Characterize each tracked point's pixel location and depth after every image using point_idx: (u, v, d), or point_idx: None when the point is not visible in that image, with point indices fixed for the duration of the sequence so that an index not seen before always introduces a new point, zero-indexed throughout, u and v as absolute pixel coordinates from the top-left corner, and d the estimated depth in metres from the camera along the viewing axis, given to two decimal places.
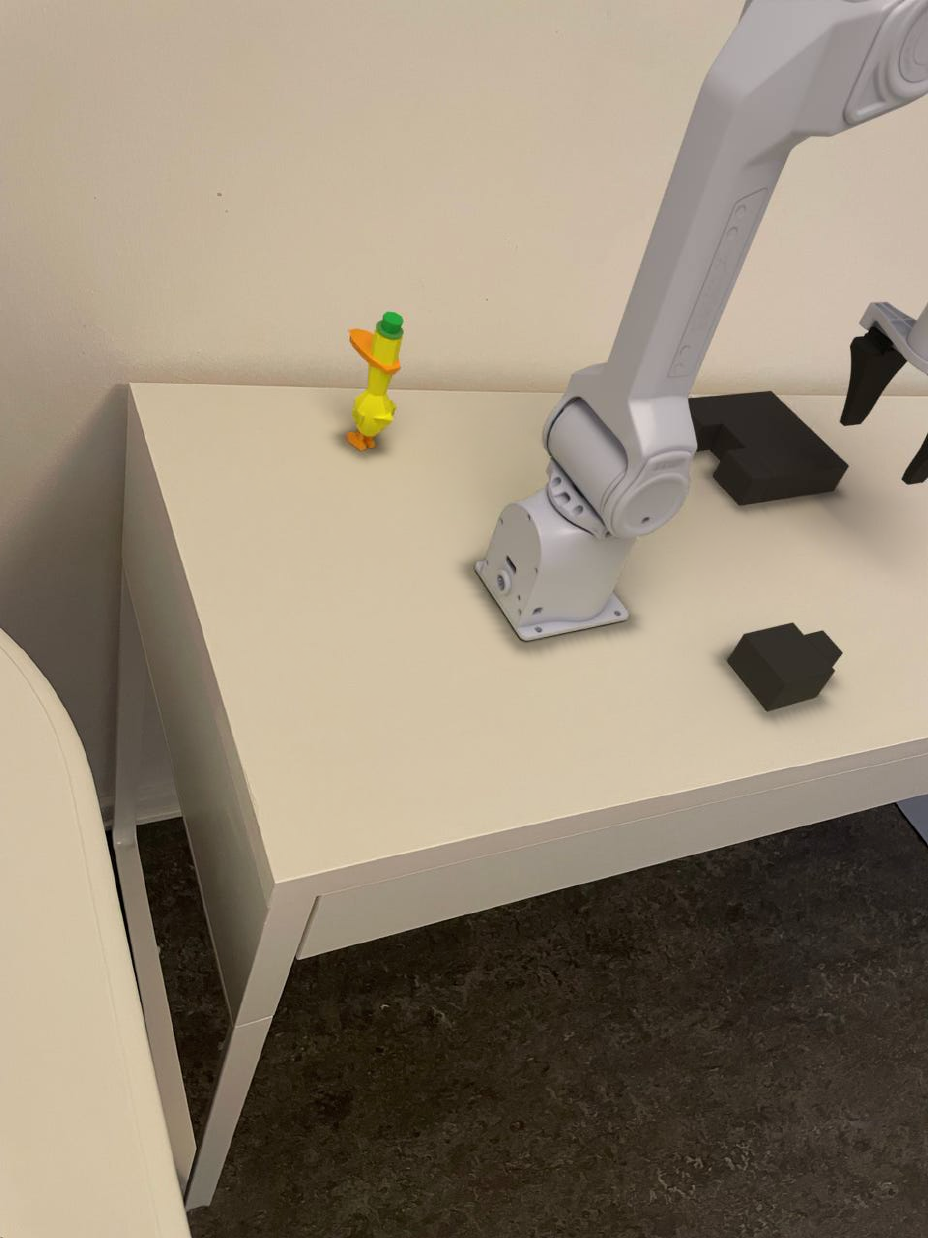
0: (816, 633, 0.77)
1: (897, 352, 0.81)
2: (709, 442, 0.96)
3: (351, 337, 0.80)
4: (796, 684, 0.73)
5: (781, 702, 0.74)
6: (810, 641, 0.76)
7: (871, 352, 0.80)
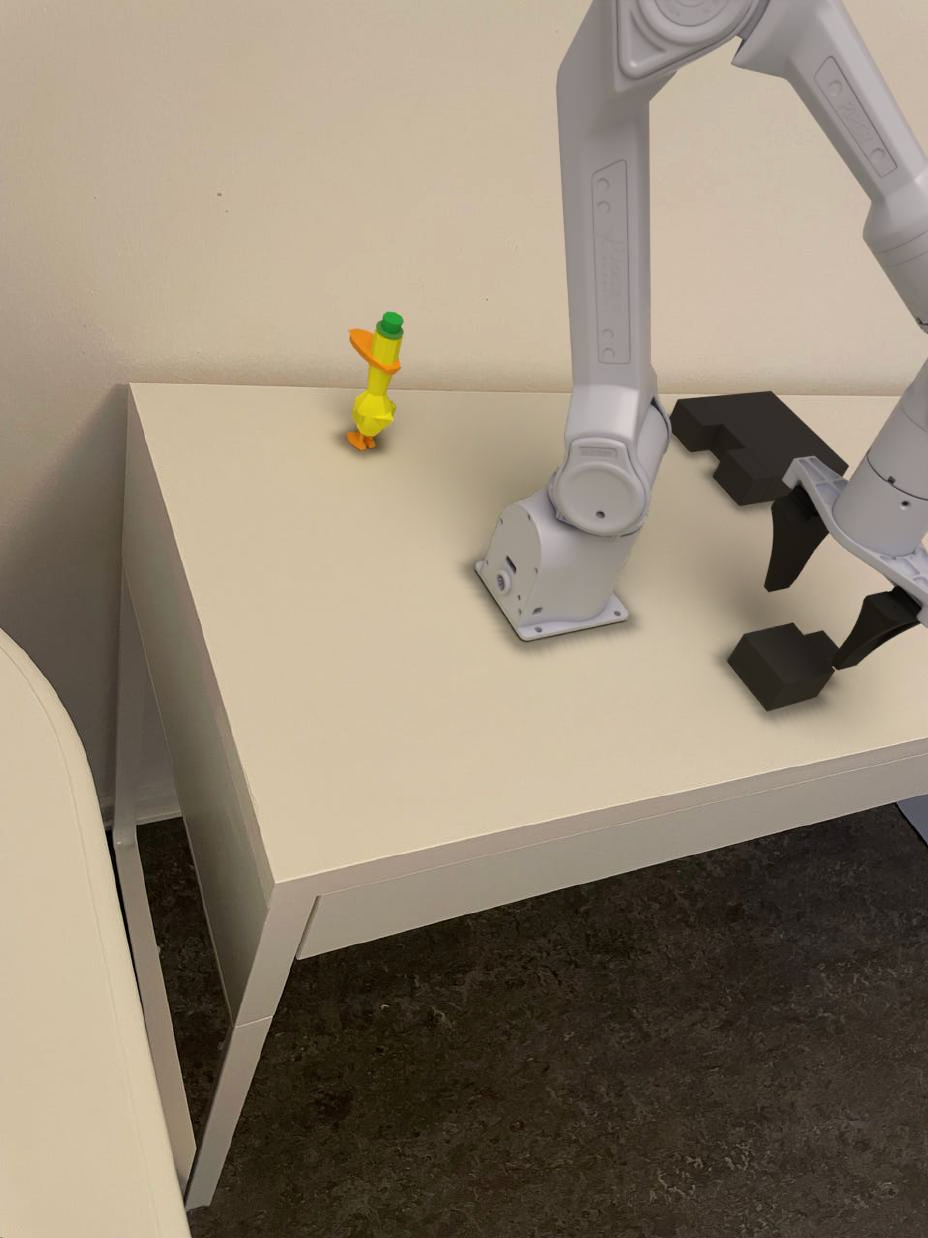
0: (816, 633, 0.77)
1: None
2: (709, 442, 0.96)
3: (351, 337, 0.80)
4: (796, 684, 0.73)
5: (781, 702, 0.74)
6: (810, 641, 0.76)
7: (794, 519, 0.69)
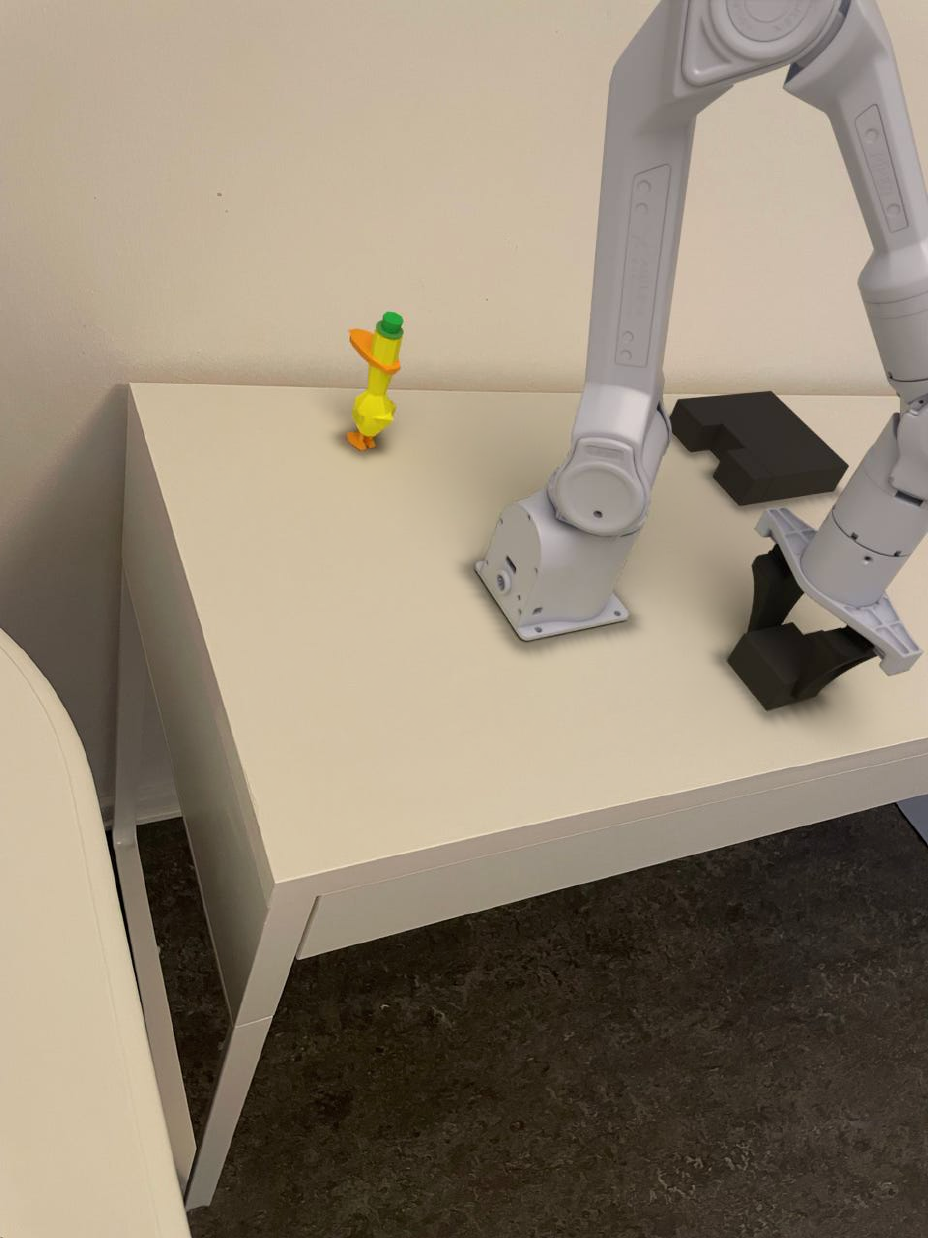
0: (816, 633, 0.77)
1: None
2: (709, 442, 0.96)
3: (351, 337, 0.80)
4: None
5: (780, 701, 0.74)
6: (810, 641, 0.76)
7: (774, 577, 0.71)
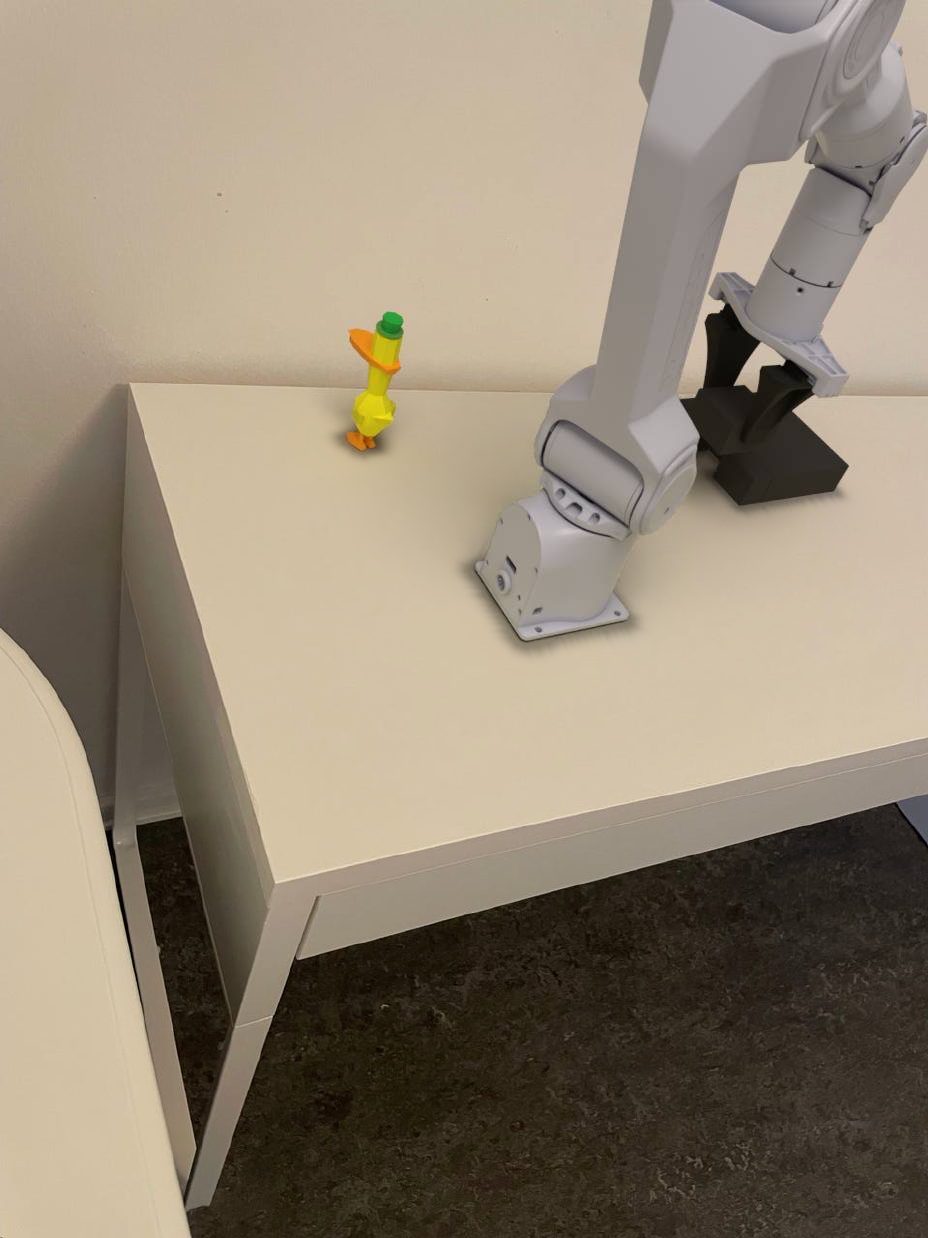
0: None
1: None
2: None
3: (351, 337, 0.80)
4: None
5: (731, 446, 0.83)
6: None
7: (723, 329, 0.81)
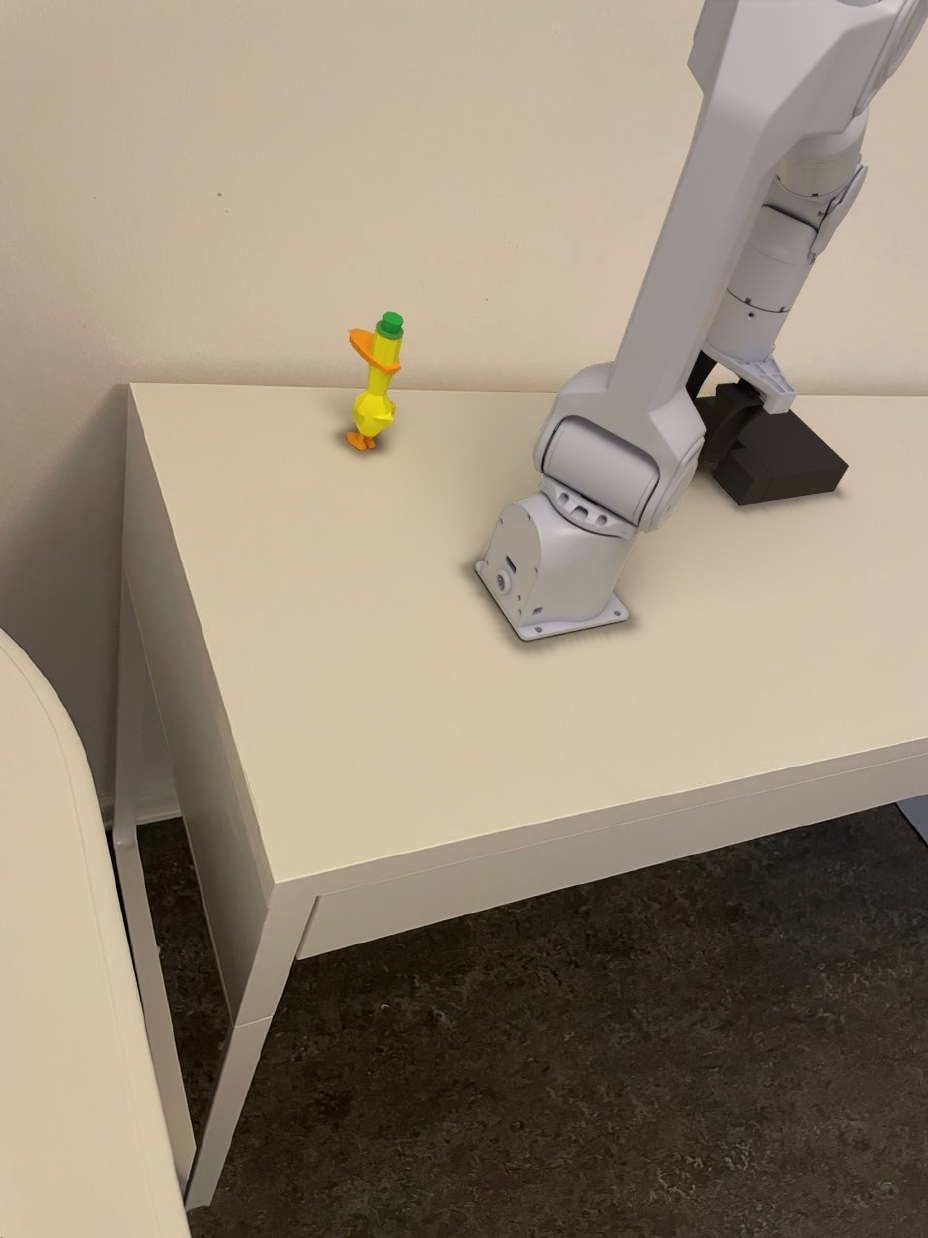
0: None
1: None
2: None
3: (351, 337, 0.80)
4: None
5: None
6: None
7: None
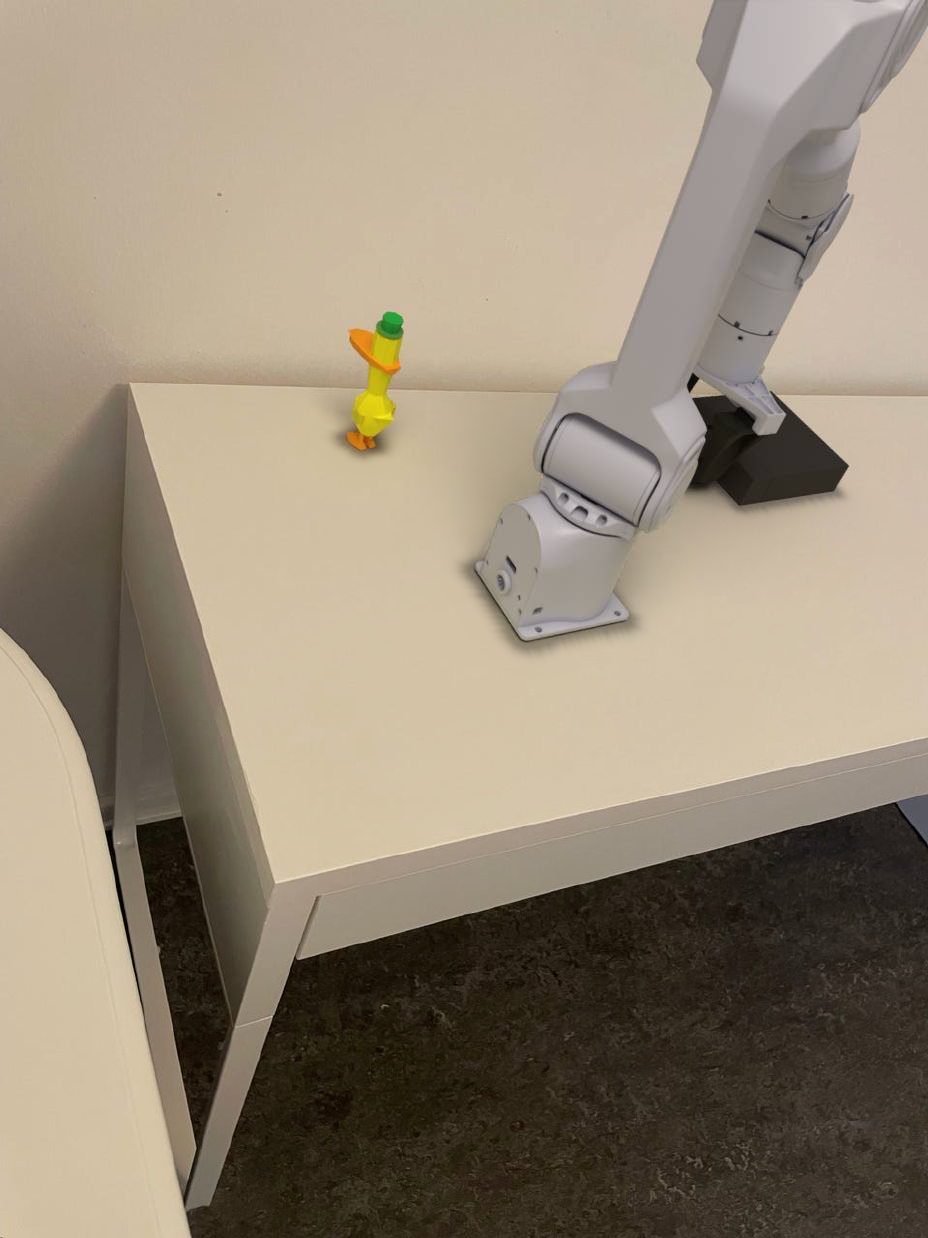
0: None
1: None
2: None
3: (351, 337, 0.80)
4: None
5: None
6: (708, 434, 0.93)
7: None
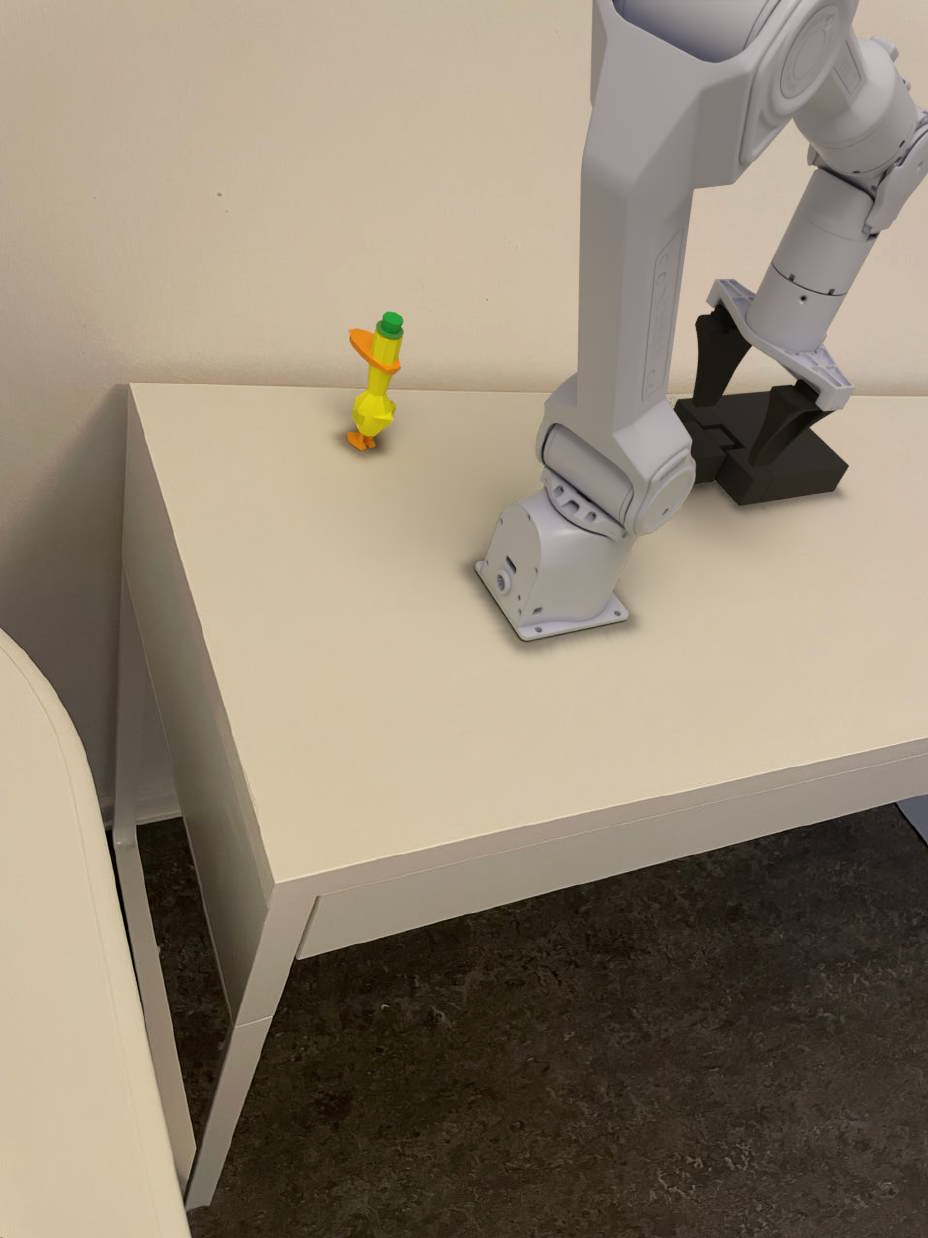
0: (713, 429, 0.94)
1: None
2: None
3: (351, 337, 0.80)
4: None
5: None
6: (708, 434, 0.93)
7: (714, 331, 0.78)
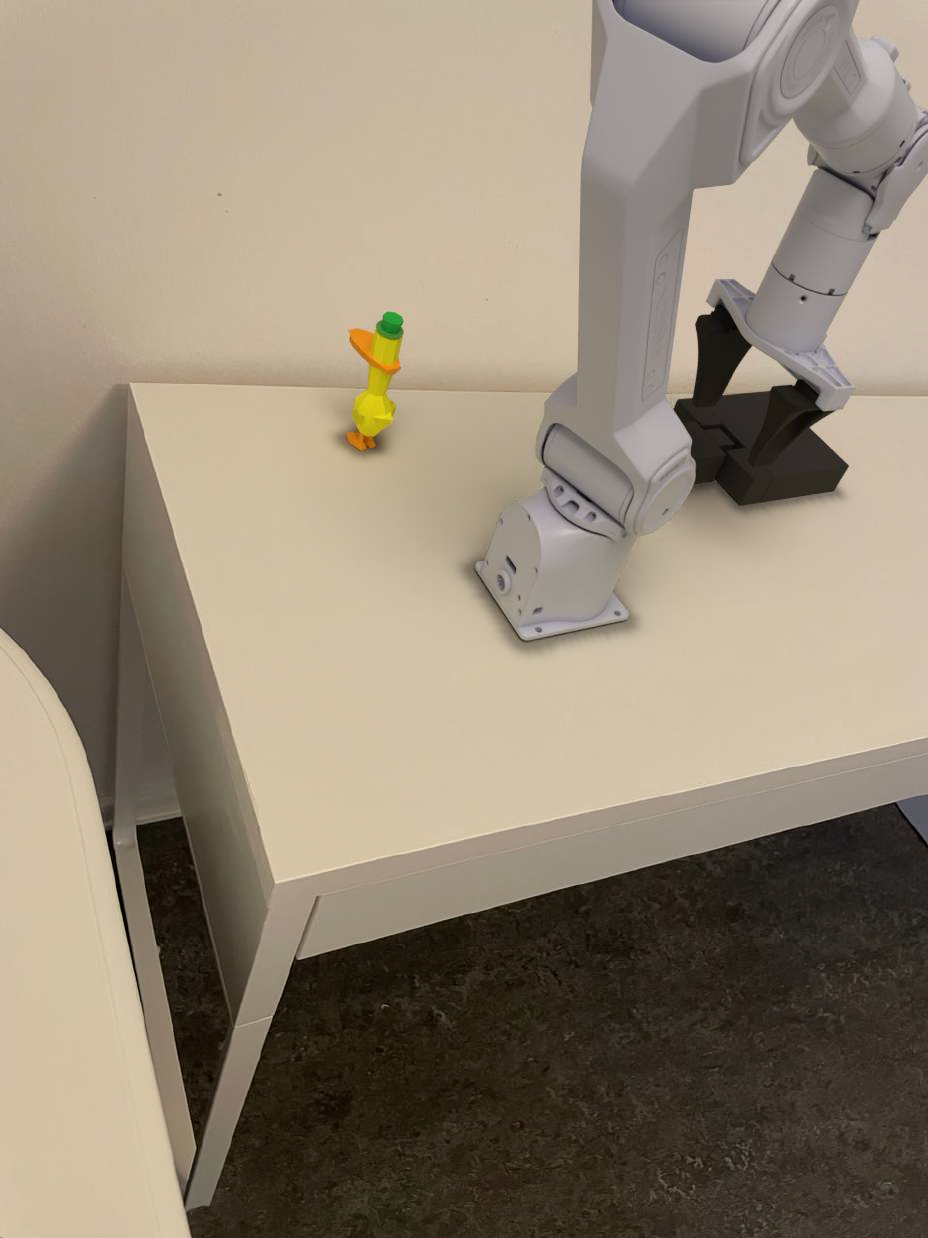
0: (713, 429, 0.94)
1: None
2: None
3: (351, 337, 0.80)
4: None
5: None
6: (708, 434, 0.93)
7: (714, 331, 0.78)
